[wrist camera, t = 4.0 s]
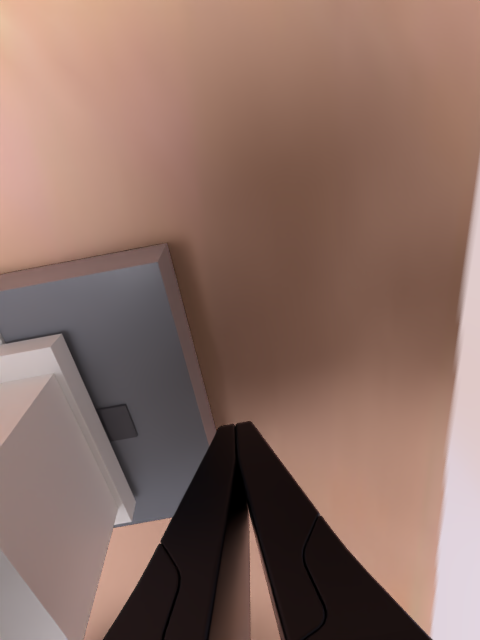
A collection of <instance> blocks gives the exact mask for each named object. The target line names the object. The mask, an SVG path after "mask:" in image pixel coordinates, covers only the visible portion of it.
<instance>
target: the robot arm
mask: <svg viewBox="0 0 480 640" xmlns="http://www.w3.org/2000/svg"><path fill="white" fill-rule="evenodd" d="M248 509H249V510H248ZM249 513H250V518H251V522H252V526H253V530H254V534H255V538H256V542H257V546H258V550H259V554H260V558H261V562H262V566H263V570H264V574H265V578H266V582H267V586H268V590H269V594H270V598H271V602H272V606H273V610H274V614H275V618H276V622H277V626H278V630H279V634H280V638H281V640H432V639H431V638H430V637H429V636H428V635H427V634H426V633H425V632H424V631H423V629H422V628H421V627H420V626H419V625H418V624H417V623H416V622H415V621H414V620H413V619H412V618H411V617H410V616H409V615H408V614H407V613H406V612H405V611H404V610H403V608H402V607H401V606H400V605H399V604H398V603H397V602H396V601H395V600H394V599H393V598H392V597H391V596H390V595H389V594H388V593H387V592H386V591H385V589H384V588H383V587H382V586H381V585H380V584H379V583H378V582H377V581H376V580H375V579H374V578H373V577H372V576H371V575H370V574H369V573H368V572H367V570H366V569H365V568H364V567H363V566H362V565H361V564H360V563H359V561H358V560H357V559H356V558H355V557H354V556H353V555H352V554H351V553H350V551H349V550H348V549H347V548H346V547H345V545H344V544H343V543H342V542H341V540H340V539H339V538H338V537H337V535H336V534H335V533H334V532H333V530H332V529H331V528H330V526H329V525H328V524H327V522H326V521H325V520H324V518H323V517H322V516H320V513H319V512H318V510H317V509H316V508H315V506H314V505H313V504H312V502H311V501H310V500H309V498H308V497H307V496H306V494H305V493H304V492H303V490H302V489H301V488H300V486H299V485H298V484H297V482H296V481H295V479H294V478H293V477H292V475H291V474H290V473H289V471H288V470H287V469H286V467H285V466H284V465H283V463H282V462H281V461H280V459H279V458H278V457H277V455H276V454H275V453H274V451H273V450H272V449H271V447H270V446H269V444H268V443H267V442H266V440H265V439H264V438H263V436H262V435H261V434H260V432H259V431H258V430H257V428H256V427H255V426H254V424H253V423H252V422H251V421H247V422H241V423H237V424H236V426H235V425H234V424H230V425H224V426H220V427H219V428H218V430H217V432H216V434H215V436H214V438H213V440H212V442H211V444H210V445H209V447H208V449H207V451H206V453H205V455H204V457H203V459H202V461H201V463H200V465H199V467H198V469H197V471H196V473H195V475H194V477H193V479H192V481H191V483H190V484H189V486H188V488H187V490H186V492H185V494H184V496H183V498H182V500H181V502H180V504H179V506H178V508H177V510H176V512H175V514H174V516H173V518H172V520H171V521H170V523H169V525H168V527H167V529H166V531H165V533H164V535H163V537H162V539H161V544H159V545H158V546H157V548H156V550H155V552H154V554H153V556H152V558H151V560H150V562H149V564H148V566H147V568H146V569H145V571H144V573H143V575H142V577H141V579H140V580H139V582H138V584H137V586H136V587H135V589H134V591H133V592H132V594H131V596H130V597H129V599H128V601H127V602H126V604H125V605H124V607H123V609H122V610H121V612H120V614H119V615H118V617H117V618H116V620H115V622H114V623H113V625H112V626H111V628H110V629H109V631H108V632H107V634H106V636H105V637H104V639H103V640H251V638H250V546H249Z"/></svg>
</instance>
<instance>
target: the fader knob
mask: <svg viewBox="0 0 480 640" xmlns="http://www.w3.org/2000/svg"><path fill="white" fill-rule="evenodd" d="M135 505H136V501H135V498H134V496H133V494H132V492H131V489H130V487H129V485H128V483H127V480H126V478H125V476H124V473H123V471H122V469H121V467H120V464H119V462H118V460H117V458H116V455H115V453H114V451H113V449H112V446H111V444H110V442H109V439H108V437H107V435H106V433H105V430H104V428H103V426H102V424H101V421H100V419H99V417H98V414H97V412H96V410H95V408H94V405H93V403H92V401H91V399H90V396H89V394H88V392H87V389H86V387H85V385H84V383H83V380H82V378H81V376H80V374H79V371H78V369H77V367H76V364H75V362H74V360H73V358H72V355H71V353H70V351H69V349H68V346H67V344H66V342H65V340H64V337H63V335H62V334H56V335H51V336H45V337H40V338H35V339H29V340H24V341H18V342H13V343H8V344H2V345H0V640H83V639H84V636H85V632H86V628H87V624H88V621H89V617H90V613H91V609H92V606H93V602H94V598H95V594H96V590H97V587H98V583H99V579H100V575H101V572H102V568H103V564H104V560H105V557H106V553H107V549H108V545H109V542H110V538H111V534H112V530H113V527H114V525H117V524H122V523H128V522H132V518H133V514H134V509H135Z"/></svg>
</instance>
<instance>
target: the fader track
mask: <svg viewBox="0 0 480 640" xmlns="http://www.w3.org/2000/svg"><path fill="white" fill-rule="evenodd" d="M56 334H62V335H63V337H64V340H65V342H66V344H67V346H68V349H69V351H70V353H71V355H72V358H73V360H74V362H75V364H76V367H77V369H78V371H79V374H80V376H81V378H82V380H83V383H84V385H85V387H86V389H87V392H88V394H89V396H90V399H91V401H92V403H93V405H94V408H95V410H96V412H97V414H98V417H99V419H100V421H101V424H102V426H103V428H104V430H105V433H106V435H107V437H108V439H109V442H110V444H111V446H112V449H113V451H114V453H115V455H116V458H117V460H118V462H119V464H120V467H121V469H122V471H123V473H124V476H125V478H126V480H127V483H128V485H129V487H130V489H131V492H132V494H133V496H134V498H135V501H136V505H135V509H134V514H133V518H132V522H128V523H122V524H117V525H114V527H113V528H115V527H121V526H127V525H132V524H138V523H143V522H149V521H154V520H160V519H166V518H171V517H173V516H174V514H175V512H176V510H177V508H178V506H179V504H180V502H181V500H182V498H183V496H184V494H185V492H186V490H187V488H188V486H189V484H190V483H191V481H192V479H193V477H194V475H195V473H196V471H197V469H198V467H199V465H200V463H201V461H202V459H203V457H204V455H205V453H206V451H207V449H208V447H209V445H210V444H211V442H212V440H213V438H214V436H215V434H216V428H215V424H214V420H213V416H212V412H211V409H210V405H209V401H208V397H207V393H206V390H205V386H204V382H203V378H202V374H201V370H200V367H199V363H198V359H197V355H196V351H195V347H194V344H193V340H192V336H191V332H190V328H189V325H188V321H187V317H186V313H185V309H184V305H183V302H182V298H181V294H180V290H179V286H178V282H177V279H176V275H175V271H174V267H173V263H172V260H171V256H170V252H169V248H168V244H167V243H164V244H159V245H154V246H148V247H143V248H138V249H132V250H127V251H122V252H116V253H111V254H106V255H100V256H95V257H90V258H84V259H79V260H74V261H68V262H63V263H58V264H52V265H47V266H42V267H36V268H31V269H26V270H20V271H15V272H10V273H4V274H0V345H2V344H8V343H13V342H18V341H24V340H29V339H35V338H40V337H45V336H51V335H56Z"/></svg>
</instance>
